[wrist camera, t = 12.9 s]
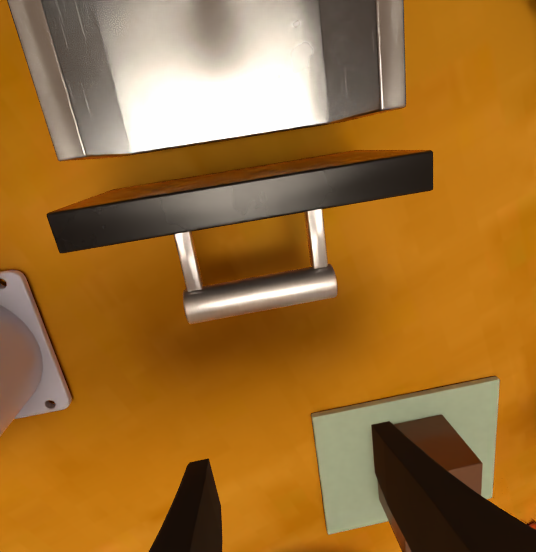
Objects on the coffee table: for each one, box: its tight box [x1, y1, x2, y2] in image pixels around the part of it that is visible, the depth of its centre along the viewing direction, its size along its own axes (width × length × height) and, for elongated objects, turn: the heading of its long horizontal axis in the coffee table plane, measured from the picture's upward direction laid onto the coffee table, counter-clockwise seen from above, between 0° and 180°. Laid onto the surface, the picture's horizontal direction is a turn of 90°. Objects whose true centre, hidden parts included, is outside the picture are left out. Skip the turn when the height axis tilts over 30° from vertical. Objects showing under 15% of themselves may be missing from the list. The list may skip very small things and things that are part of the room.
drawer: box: [7, 0, 433, 324], centre depth 13 cm, size 18×11×7 cm, turn 9°
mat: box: [311, 376, 500, 534], centre depth 25 cm, size 12×10×1 cm
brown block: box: [378, 414, 483, 552], centre depth 23 cm, size 4×6×4 cm
